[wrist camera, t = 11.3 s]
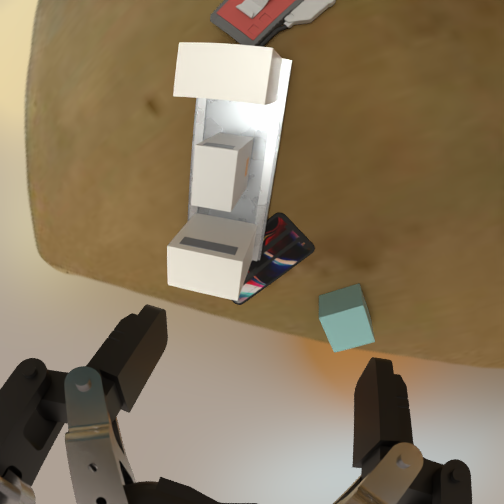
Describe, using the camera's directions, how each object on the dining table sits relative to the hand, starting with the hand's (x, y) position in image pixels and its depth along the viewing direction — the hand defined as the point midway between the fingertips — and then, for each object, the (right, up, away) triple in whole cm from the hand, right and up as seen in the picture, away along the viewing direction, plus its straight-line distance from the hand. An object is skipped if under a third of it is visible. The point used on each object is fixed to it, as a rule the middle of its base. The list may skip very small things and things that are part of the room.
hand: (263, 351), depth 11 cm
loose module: (-3, +14, +24) cm, 28 cm away
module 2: (-4, +6, +29) cm, 30 cm away
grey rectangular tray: (-2, +15, +25) cm, 29 cm away
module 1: (-1, +23, +19) cm, 30 cm away
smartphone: (0, +3, +32) cm, 32 cm away
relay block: (+11, -3, +29) cm, 32 cm away
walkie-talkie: (+4, +33, +14) cm, 36 cm away
